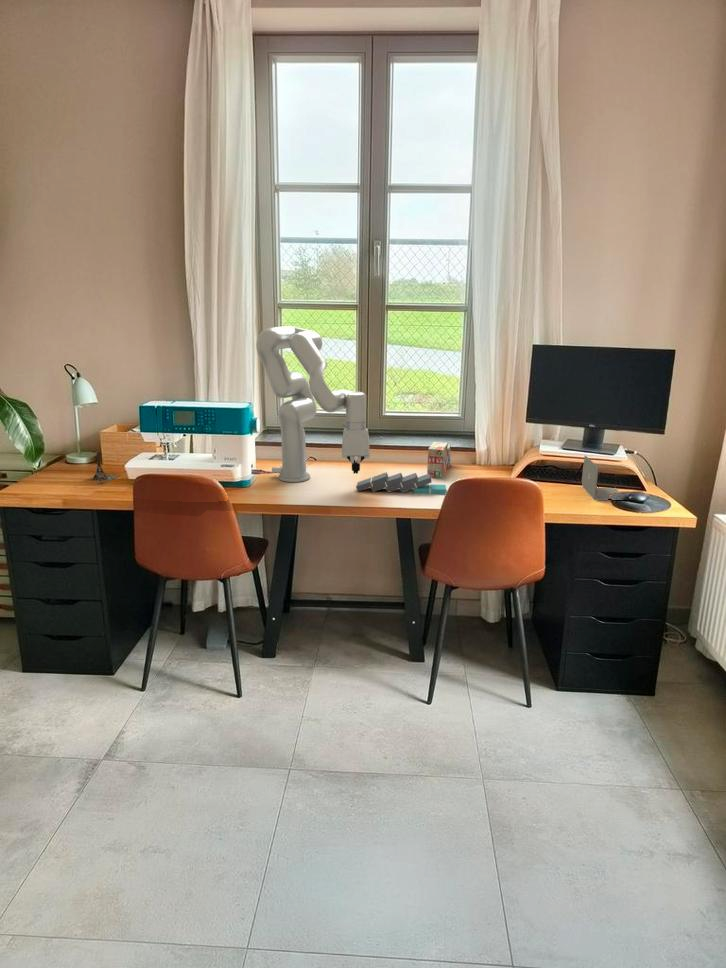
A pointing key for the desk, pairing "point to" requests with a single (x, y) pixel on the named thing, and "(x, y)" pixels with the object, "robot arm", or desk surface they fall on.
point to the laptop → (594, 482)
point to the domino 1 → (372, 481)
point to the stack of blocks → (438, 459)
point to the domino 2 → (389, 482)
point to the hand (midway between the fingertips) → (355, 472)
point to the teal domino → (430, 489)
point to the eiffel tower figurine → (102, 473)
